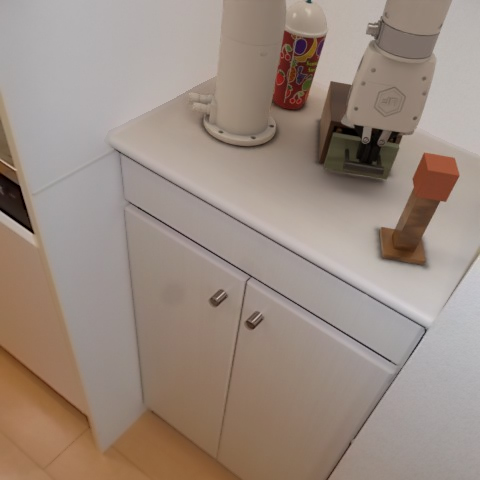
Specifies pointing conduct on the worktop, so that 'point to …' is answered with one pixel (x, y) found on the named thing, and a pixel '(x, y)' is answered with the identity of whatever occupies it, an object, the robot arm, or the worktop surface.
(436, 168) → the block
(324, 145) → the cabinet
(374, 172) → the drawer
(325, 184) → the worktop surface
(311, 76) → the smoothie
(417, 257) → the stand
